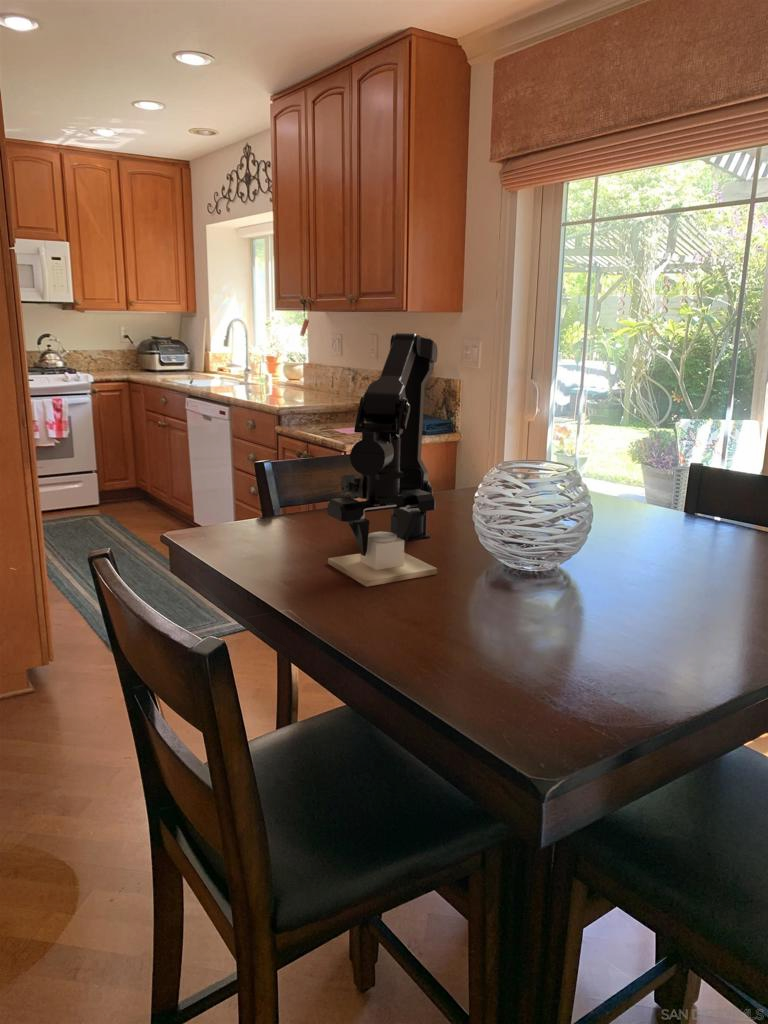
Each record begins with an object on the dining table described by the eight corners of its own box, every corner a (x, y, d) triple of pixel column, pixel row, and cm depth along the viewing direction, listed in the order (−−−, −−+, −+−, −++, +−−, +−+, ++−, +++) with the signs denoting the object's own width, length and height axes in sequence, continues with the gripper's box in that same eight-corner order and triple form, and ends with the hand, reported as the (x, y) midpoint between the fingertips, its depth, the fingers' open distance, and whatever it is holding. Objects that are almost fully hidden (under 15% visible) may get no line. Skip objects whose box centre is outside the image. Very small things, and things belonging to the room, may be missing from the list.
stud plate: (394, 553, 142) (395, 532, 141) (436, 573, 130) (437, 551, 129) (328, 563, 135) (328, 542, 134) (366, 586, 123) (366, 563, 122)
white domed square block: (387, 556, 136) (387, 529, 135) (403, 565, 132) (404, 537, 130) (360, 561, 133) (360, 533, 132) (376, 570, 129) (376, 541, 128)
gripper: (404, 453, 140) (402, 534, 143) (313, 461, 130) (313, 547, 134) (438, 463, 130) (435, 549, 134) (343, 472, 121) (342, 564, 125)
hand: (381, 552), depth 132 cm, fingers open, 7 cm apart
